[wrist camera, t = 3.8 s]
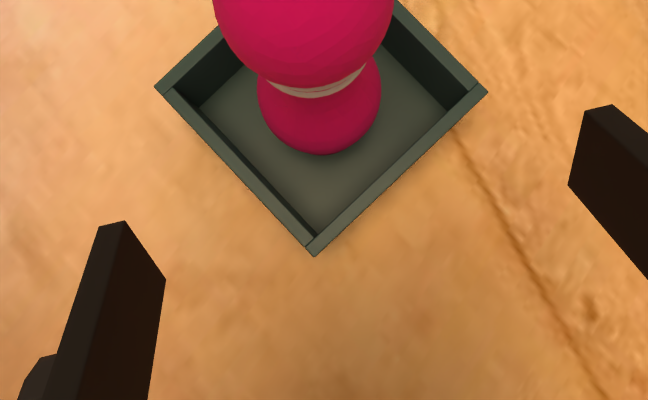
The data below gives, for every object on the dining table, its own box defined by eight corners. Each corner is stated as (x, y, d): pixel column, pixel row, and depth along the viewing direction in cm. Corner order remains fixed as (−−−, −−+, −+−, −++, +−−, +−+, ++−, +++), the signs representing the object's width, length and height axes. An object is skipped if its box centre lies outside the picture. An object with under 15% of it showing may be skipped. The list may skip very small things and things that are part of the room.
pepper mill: (250, 89, 31) (91, -145, 11) (344, 39, 31) (351, -287, 11) (300, 181, 31) (226, 111, 11) (394, 131, 31) (496, -34, 11)
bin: (185, 109, 32) (152, 86, 26) (326, -24, 32) (323, -75, 26) (318, 251, 31) (314, 258, 25) (462, 114, 31) (489, 91, 26)
